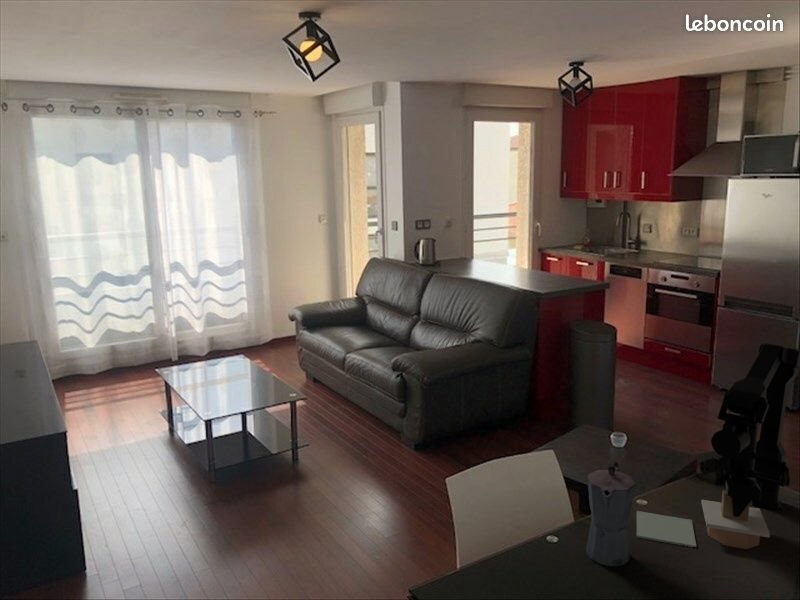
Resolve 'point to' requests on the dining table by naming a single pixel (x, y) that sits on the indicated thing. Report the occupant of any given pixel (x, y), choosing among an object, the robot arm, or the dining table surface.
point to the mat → (665, 529)
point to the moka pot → (609, 516)
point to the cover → (723, 517)
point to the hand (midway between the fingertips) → (734, 511)
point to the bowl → (734, 538)
